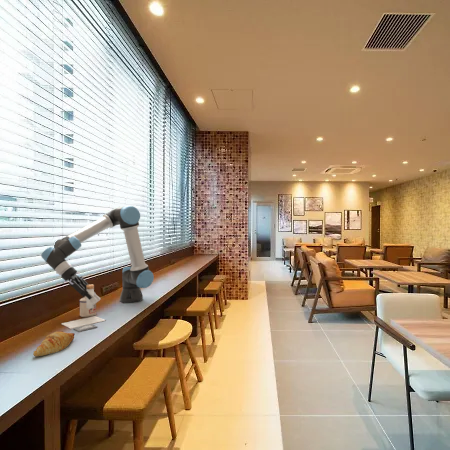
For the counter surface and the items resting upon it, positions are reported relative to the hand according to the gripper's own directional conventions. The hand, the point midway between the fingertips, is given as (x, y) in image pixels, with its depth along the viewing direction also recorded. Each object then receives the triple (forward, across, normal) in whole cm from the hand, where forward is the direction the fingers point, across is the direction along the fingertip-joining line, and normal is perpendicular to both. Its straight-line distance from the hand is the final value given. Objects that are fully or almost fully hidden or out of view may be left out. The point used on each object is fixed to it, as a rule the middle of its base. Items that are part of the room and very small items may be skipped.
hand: (97, 301), depth 169 cm
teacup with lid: (+1, -11, -13) cm, 17 cm away
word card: (+7, +15, -7) cm, 18 cm away
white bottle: (-1, 0, -5) cm, 5 cm away
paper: (+3, +4, -11) cm, 12 cm away
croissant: (+5, +40, -10) cm, 42 cm away
